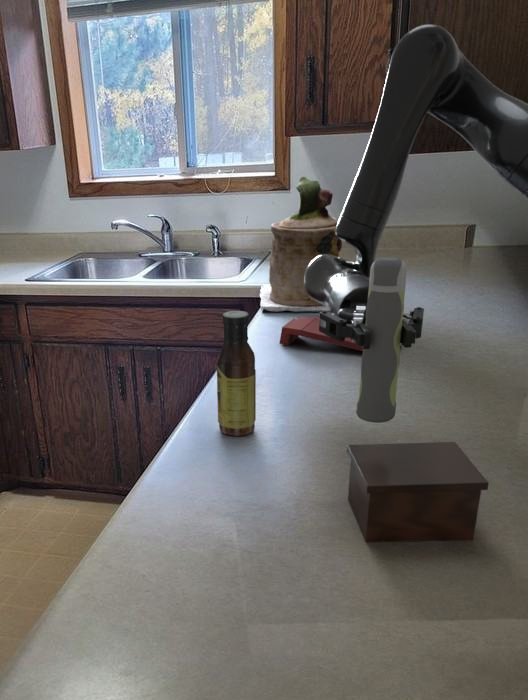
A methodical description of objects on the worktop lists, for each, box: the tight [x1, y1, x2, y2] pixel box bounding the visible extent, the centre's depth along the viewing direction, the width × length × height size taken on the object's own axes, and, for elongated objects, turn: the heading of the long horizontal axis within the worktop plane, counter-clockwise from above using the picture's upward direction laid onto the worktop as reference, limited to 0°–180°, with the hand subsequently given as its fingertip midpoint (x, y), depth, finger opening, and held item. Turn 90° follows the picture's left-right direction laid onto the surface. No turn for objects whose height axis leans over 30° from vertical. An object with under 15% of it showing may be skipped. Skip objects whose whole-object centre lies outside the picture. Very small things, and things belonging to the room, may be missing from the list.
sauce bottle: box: [216, 310, 257, 437], centre depth 119 cm, size 7×6×20 cm
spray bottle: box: [355, 256, 408, 424], centre depth 91 cm, size 5×5×20 cm
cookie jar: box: [259, 176, 343, 313], centre depth 196 cm, size 25×25×32 cm
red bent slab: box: [279, 316, 363, 352], centre depth 165 cm, size 12×5×25 cm
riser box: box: [346, 441, 489, 543], centre depth 93 cm, size 14×12×8 cm
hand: (388, 340), depth 88 cm, fingers closed on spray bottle, 4 cm apart
